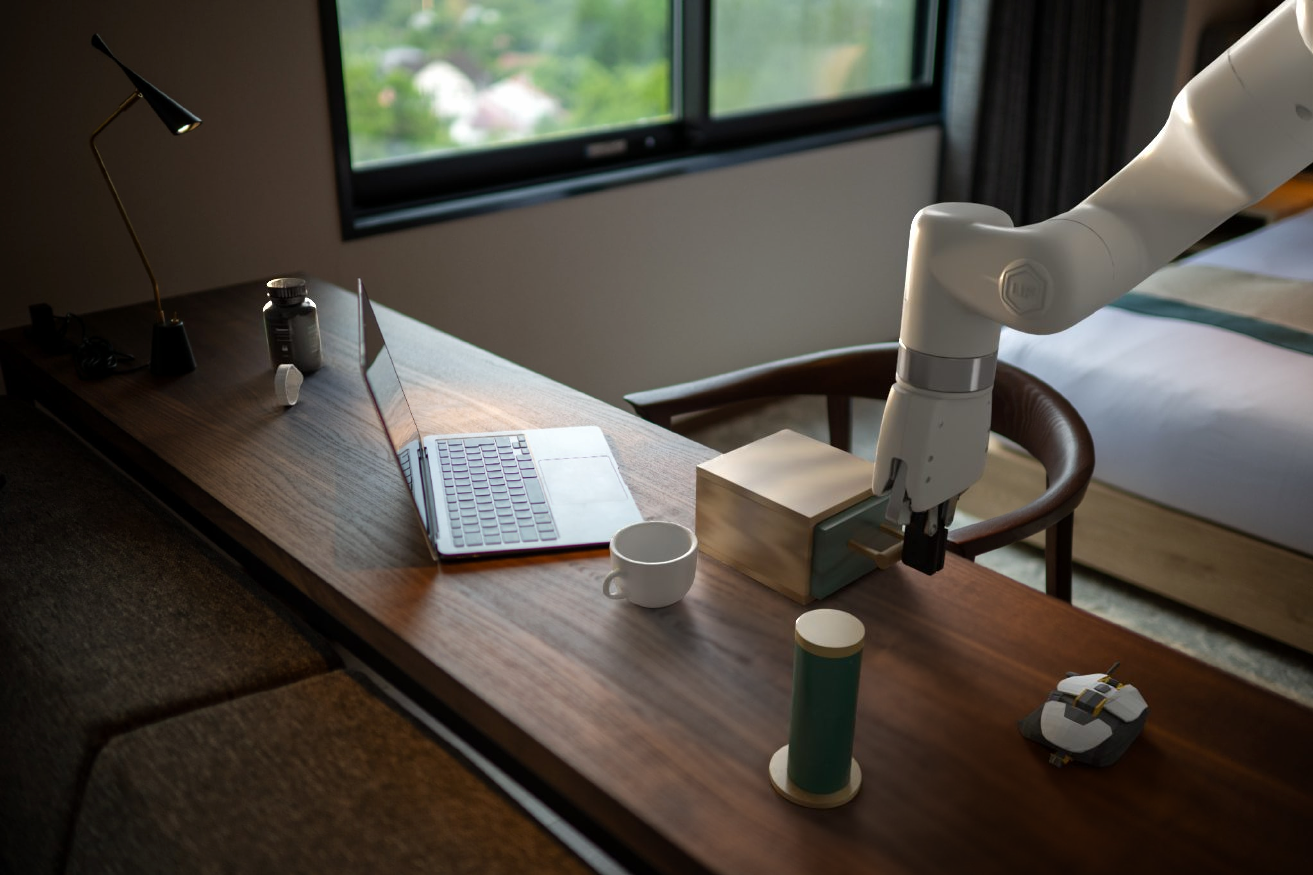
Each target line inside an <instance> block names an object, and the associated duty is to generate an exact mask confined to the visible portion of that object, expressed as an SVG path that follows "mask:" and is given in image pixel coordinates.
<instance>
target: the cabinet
mask: <svg viewBox="0 0 1313 875" xmlns="http://www.w3.org/2000/svg"><path fill="white" fill-rule="evenodd" d="M874 465H875V462H873V461H870V460H867V459H866V458H864V457H863V458H862V457H860V456H858V455H855V454H854V453H853V454H852V453H850V452H849V451H845V450H843V449H840V448H837V447H835V446H832V445H830V444H827V443H825V442H822V441H821V440H817V439H814V438H812V437H809V436H807V435H805V434H802V433H801V432H800V433H799V432H797V431H795V430H792V429H790V428H785V429H782V430H780V431H777V432H776V433H773V434H771V435H767V436H766V437H763V438H760V439H758V440H755V441H753V442H750V443H748V444H746V445H743V446H741V447H738V448H736V449H734V450H730V451H729V452H727V453H724V454H721V455H719V456H716V457H714V458H711V459H709V460H706V461H704V462H701V463H699V464H697V465H695V474H696V475H695V508H694V509H695V511H694V512H695V514H694V515H695V516H694V534H695V535H696V537H697V541H698V551H700V552H702V553H704V554H706V555H708V556H709V557H712V558H713V559H715V560H717V561H719V562H721V563H723V564H724V565H727V566H728V567H730V568H732V569H734V570H736V571H737V572H740V573H741V574H743V575H745V576H747V577H748V578H751V579H753V580H754V581H757V582H759V583H761V584H762V585H764V586H766V587H768V588H770V589H772V590H774V591H776V592H777V593H779V594H781V595H783V596H785V597H787V598H789V599H791V600H792V601H793V602H794V601H795V603H798V604H800V605H802V606H806V605H808V604H810V603H812V602H814V601H815V600H818V598H816V597H814V596H812V595H810V584H811V570H812V556H813V542H814V528H815V525H816V524H817V523H819V522H821V521H823V520H825V519H827V518H829V517H831V516H833V515H835V514H837V513H839V512H841V511H843V510H845V509H847V508H849V507H851V506H853V505H855V504H857V503H859V502H861V501H862V500H864V499H866V498H868V497H870V496H872V495H874V494H873V491H872V482H873V472H874Z"/></svg>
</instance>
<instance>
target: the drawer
mask: <svg viewBox="0 0 1313 875" xmlns="http://www.w3.org/2000/svg"><path fill="white" fill-rule="evenodd" d="M890 495H891V493H890V494H888V495H885V496H882V497H878V496H876V495H872V496H870V497H868V498H866V499H864V500H862V501H861V502H859V503H857V504H855V505H853V506H851V507H849V508H847V509H845V510H843V511H841V512H839V513H837V514H835V515H833V516H831V517H829V518H827V519H825V520H823V521H821V522H819V523H817V524H816V525H815V528H814V542H813V556H812V570H811V584H810V595H812V596H814V597H816V598H817V600H820V601H821V600H823V599H824V598H826V597H828V596H829V595H831V594H833V593H835V592H837V591H838V590H840V589H841V588H843V587H845V586H847V585H849V584H850V583H853V582H854V581H856V580H858V579H859V578H861V577H863V576H864V575H866V574H868V573H870V572H871V571H874V570H876V569H877V568H879V569H880V570H886V569H888V568H889V567H892V566H893V565H895V564H897V563H898V562H900V561H902V550H903V541H904V531H903V528H904V527H903V526H904V525H902V526H898V525H895V524H893V523H891V522H889V521H886V520H885V515H886V511H887V507H888V503H889V499H890Z"/></svg>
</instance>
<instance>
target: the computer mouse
mask: <svg viewBox="0 0 1313 875" xmlns="http://www.w3.org/2000/svg"><path fill="white" fill-rule="evenodd" d="M1120 666H1121V663H1120V662H1119V661H1116V662H1115V663H1114V665H1112V666H1111V667H1110V669H1108V671H1107V672H1106V673H1105V674H1104V673H1093V674H1086V675H1085V674H1083V675H1082V674H1080V673H1077V672H1073V671H1066V672H1065V676H1067V678H1065V679H1061V680H1060V681H1059V683H1058V684H1057V685H1056V690H1053V689H1051V690H1050V692H1049V694H1048V696H1047V699H1046V701H1045V702H1044V703H1043V704H1041V705H1040V706H1039V708H1037V709H1035V710H1034V711H1032V712H1031V713H1029V714H1028V715H1026V716H1025V717H1024V718H1022V719H1020V720H1019V719H1018V720H1016V721H1015V723H1016V726H1017V728H1018V729H1019V731H1020V733H1021V735H1022V736H1023V737H1024V738H1027V739H1028V740H1031V741H1034V742H1036V743H1039V744H1041V745H1043V746H1044V747H1045V746H1046V747H1048V748H1050V749H1052V750H1054V753H1051V752H1050V758H1049V761H1048V763H1049V764H1051V765H1053V766H1054V767H1057V768H1059V769H1061V768H1062V766H1063V764H1065V765H1067V764H1068V763H1069V761H1070V762H1073V761H1074V760H1075V761H1076V762H1081V763H1083V764H1084V763H1085V764H1088V765H1092V766H1095V767H1097V768H1105V767H1108V766H1111V765H1113V764H1114V763H1116V762H1118V760H1119V759H1120V758H1121V757H1122V756H1123V755H1124V753H1125V752H1126V751H1127V750H1128V749H1129V748H1130V746H1131V745H1132V744H1133V743H1134V742H1135V740H1136V739H1137V737H1139V735H1141V733H1142V731H1143V730H1144V729H1145V725H1146V723H1147V720H1146V719H1147V716H1148V715H1149V714H1150V712H1151V710H1150V709H1149V708H1148V707H1149V706H1148V704H1147V702H1146V701H1145V699H1144V697H1143V696H1142V695H1141V692H1139V690H1138V689H1137V688H1136V687H1134V686H1133V685H1131V684H1130V683H1129V684H1125V685H1124V684H1122V682H1120V681H1119V680H1116V679H1114V678H1112V677H1110V676H1111V675H1112V674H1113V673H1114V672H1115V671H1116V670H1117V669H1118V668H1119V667H1120Z"/></svg>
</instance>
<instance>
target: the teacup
mask: <svg viewBox="0 0 1313 875" xmlns="http://www.w3.org/2000/svg"><path fill="white" fill-rule="evenodd" d="M698 551H699V550H698V541H697V537H696V535H695V532H694V531H692V530H691V529H690V528H688V527H686V526H684V525H682V524H679V523H676V522H671V521H666V520H665V521H664V520H650V521H649V520H648V521H640V522H635V523H632V524H629V525H627V526H624V527H622V528H620V529H619V530H617V531H616V532H615V533H614V534H613V535H612V537H611V539H610V540H609V554H610V566H611V571H610V572H609V573H608V574H607V575H606V576H605V578H604V580H603V583H602V594H603V595H604V596H605V597H606V598H607V599H610V600H625V599H626V600H628V601H629V602H630V603H632V604H635V605H636V606H640V607H643V608H648V609H650V608H651V609H659V608H660V609H661V608H664V607H669V606H670V605H673V604H676V603H677V602H679V601H680V600H682V599H683V598H684V597H685V596H686V595H687V594H688V592H689V591H690V590H691V588H692V586H693V584H694V582H695V578H696V571H697V563H698V555H699V554H698V553H699V552H698ZM612 581H613V582H614V584H615V587H616V589H617V590H618V591H616V592H613V593H611V592H610V585H611V583H612Z"/></svg>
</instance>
